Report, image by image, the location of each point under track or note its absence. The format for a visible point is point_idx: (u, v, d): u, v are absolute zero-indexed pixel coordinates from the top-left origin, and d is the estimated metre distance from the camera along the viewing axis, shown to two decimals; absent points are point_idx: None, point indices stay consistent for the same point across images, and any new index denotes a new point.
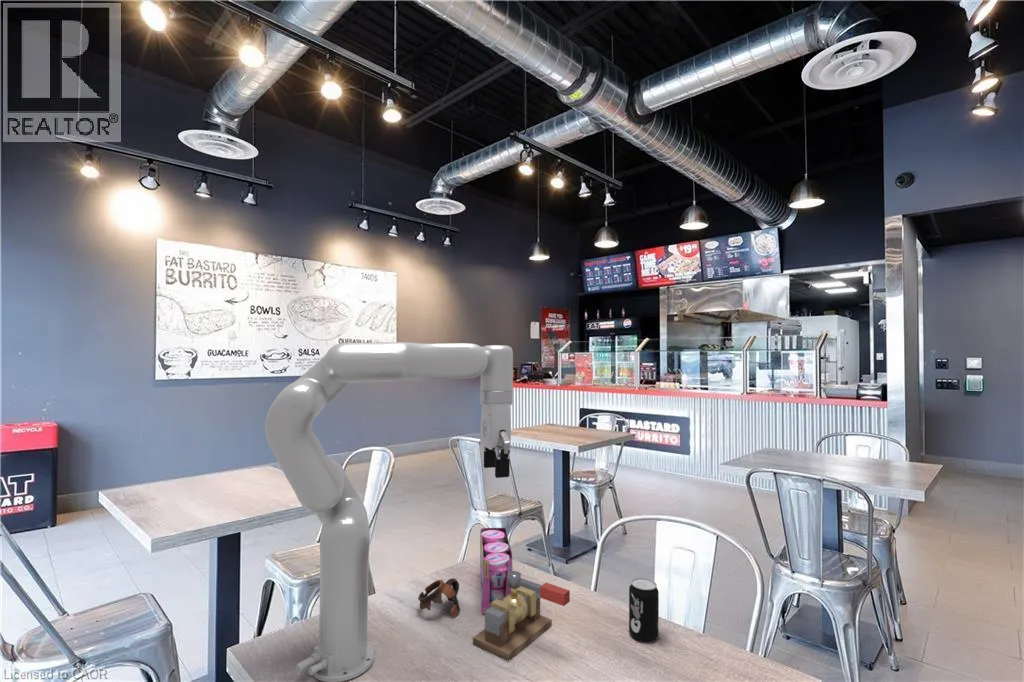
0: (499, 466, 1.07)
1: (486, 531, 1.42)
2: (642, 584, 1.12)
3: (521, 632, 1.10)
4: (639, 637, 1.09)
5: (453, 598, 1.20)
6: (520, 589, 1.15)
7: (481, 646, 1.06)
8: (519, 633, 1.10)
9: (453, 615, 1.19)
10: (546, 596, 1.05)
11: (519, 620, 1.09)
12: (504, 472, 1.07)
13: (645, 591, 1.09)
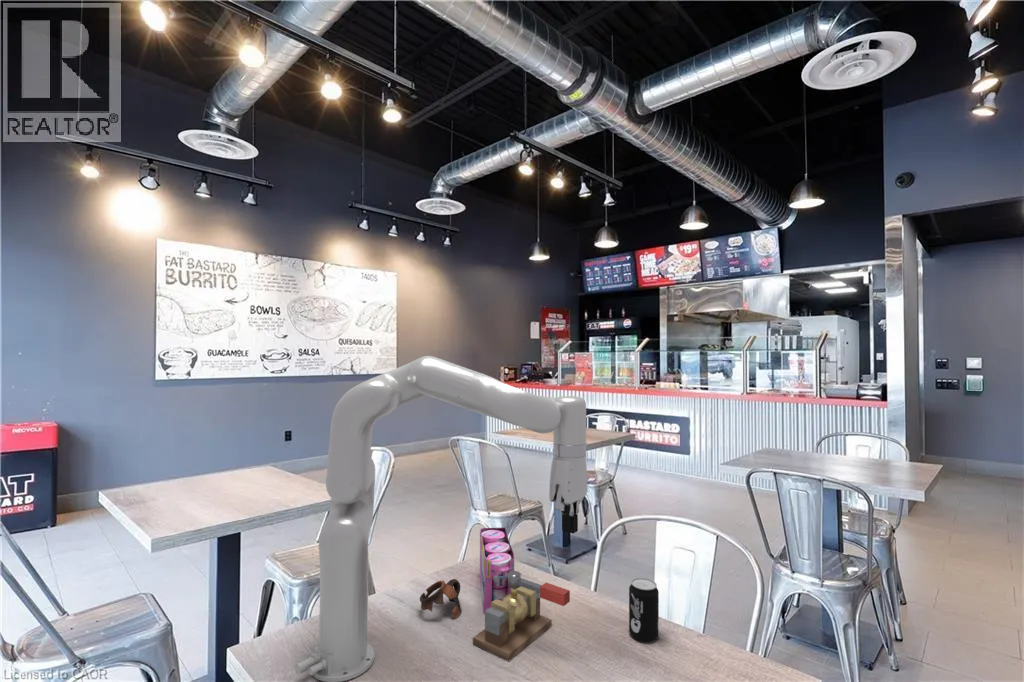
0: None
1: (485, 531, 1.42)
2: (642, 584, 1.12)
3: (521, 632, 1.10)
4: (639, 637, 1.09)
5: (455, 599, 1.20)
6: (520, 589, 1.15)
7: (481, 646, 1.06)
8: (519, 633, 1.10)
9: (455, 616, 1.18)
10: (546, 596, 1.05)
11: (519, 620, 1.09)
12: (567, 528, 1.09)
13: (645, 591, 1.09)
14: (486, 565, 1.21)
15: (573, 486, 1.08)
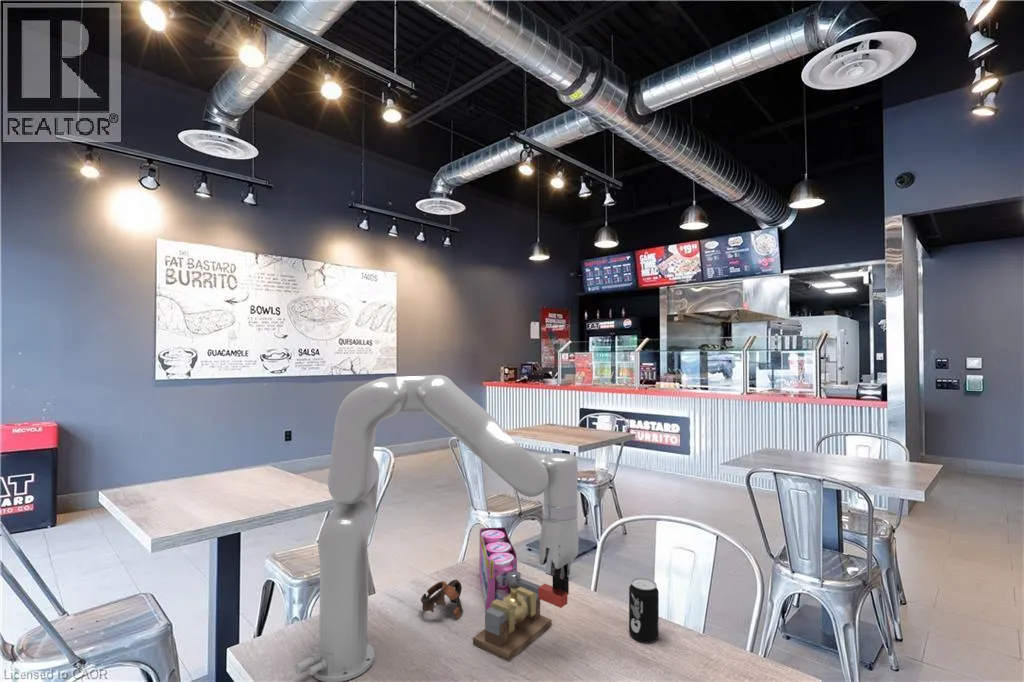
0: None
1: (485, 531, 1.42)
2: (642, 584, 1.12)
3: (521, 632, 1.10)
4: (639, 637, 1.09)
5: (456, 600, 1.19)
6: (520, 589, 1.15)
7: (481, 646, 1.06)
8: (519, 633, 1.10)
9: (456, 617, 1.18)
10: (544, 597, 1.05)
11: (519, 620, 1.09)
12: None
13: (645, 591, 1.09)
14: (489, 565, 1.21)
15: (564, 550, 1.04)
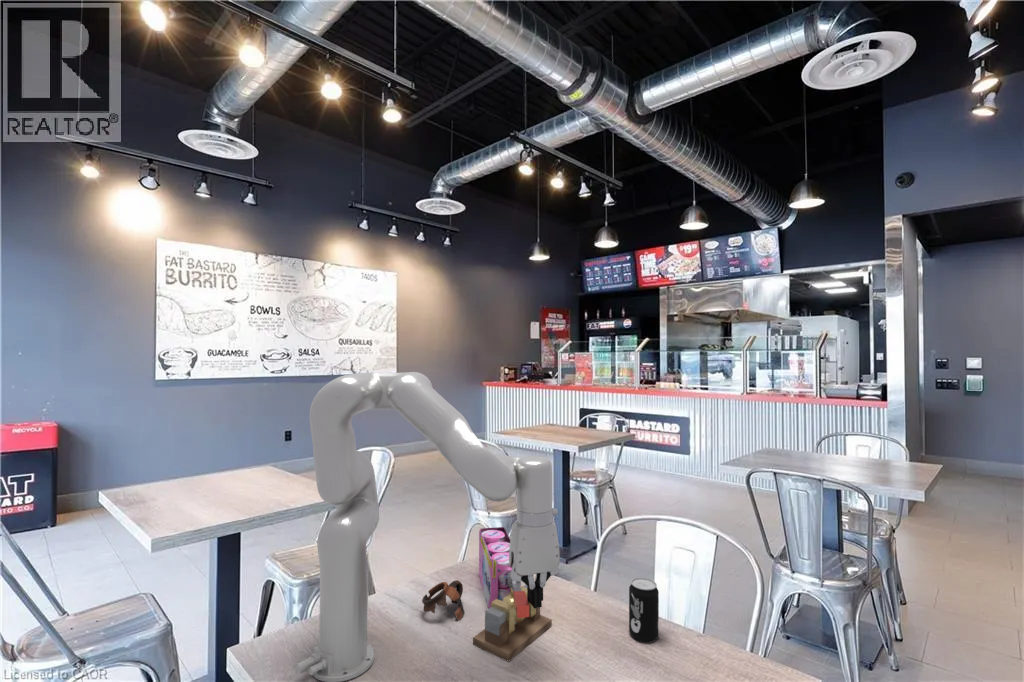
0: None
1: (485, 531, 1.42)
2: (642, 584, 1.12)
3: (521, 632, 1.10)
4: (639, 637, 1.09)
5: (458, 600, 1.19)
6: None
7: (481, 646, 1.06)
8: (519, 633, 1.10)
9: (458, 618, 1.17)
10: (514, 603, 1.02)
11: (519, 620, 1.09)
12: (529, 600, 1.01)
13: (645, 591, 1.09)
14: (492, 565, 1.21)
15: (528, 557, 0.99)
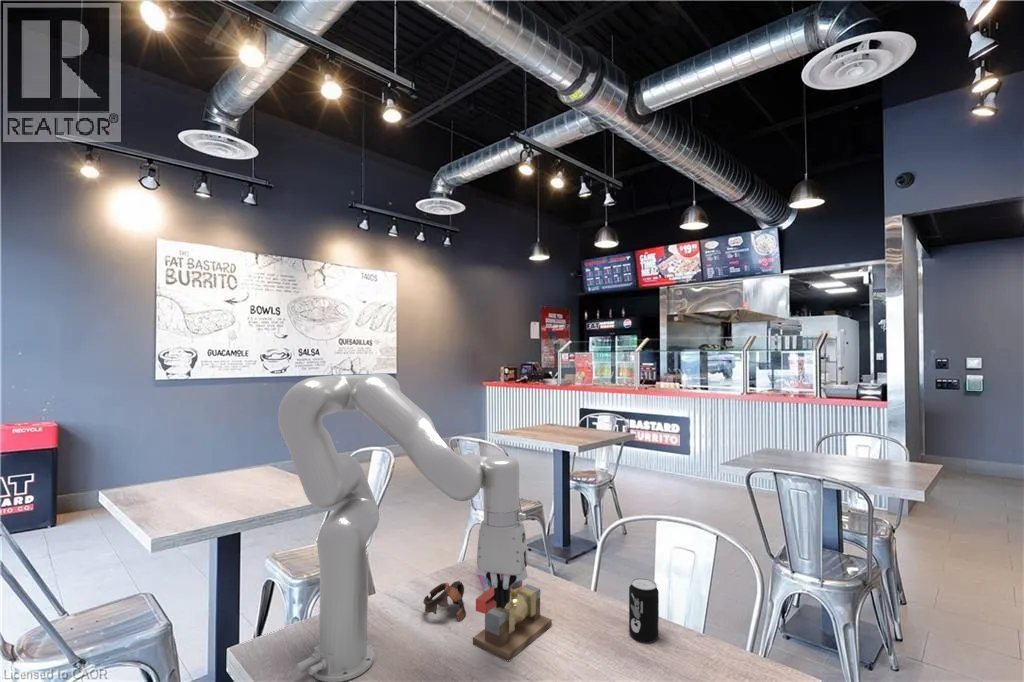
0: None
1: None
2: (642, 584, 1.12)
3: (521, 632, 1.10)
4: (639, 637, 1.09)
5: (459, 601, 1.18)
6: (520, 589, 1.15)
7: (481, 646, 1.06)
8: (519, 633, 1.10)
9: (459, 619, 1.17)
10: None
11: (519, 620, 1.09)
12: None
13: (645, 591, 1.09)
14: None
15: (487, 554, 1.00)
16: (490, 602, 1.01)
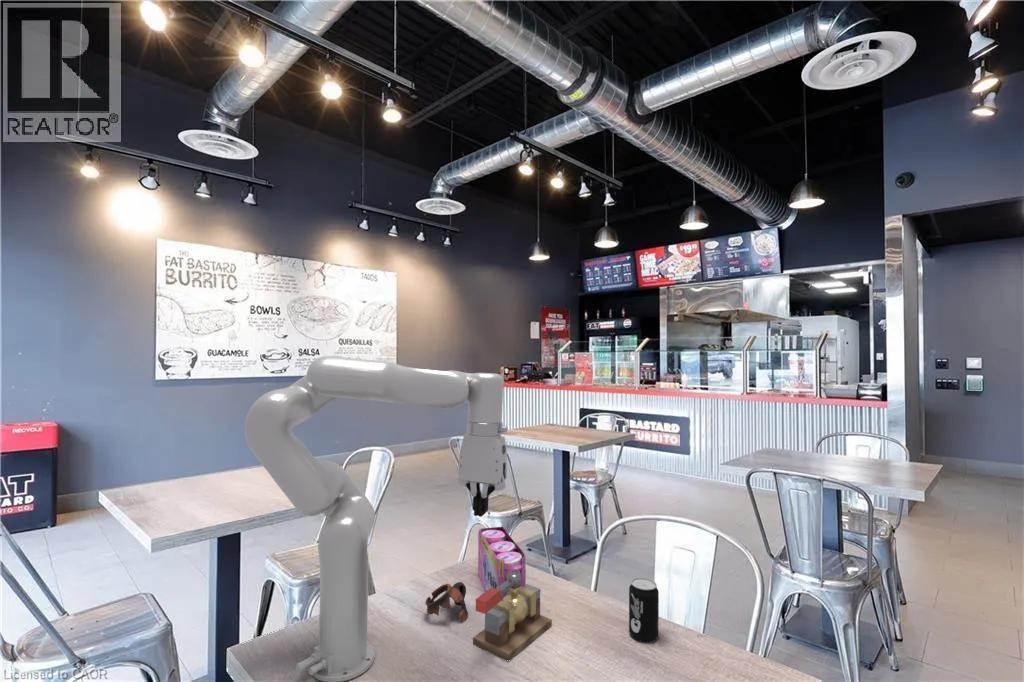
0: None
1: (484, 531, 1.42)
2: (642, 584, 1.12)
3: (521, 632, 1.10)
4: (639, 637, 1.09)
5: (461, 602, 1.18)
6: (520, 589, 1.15)
7: (481, 646, 1.06)
8: (519, 633, 1.10)
9: (462, 620, 1.17)
10: None
11: (519, 620, 1.09)
12: None
13: (645, 591, 1.09)
14: (499, 565, 1.21)
15: (467, 464, 1.04)
16: (490, 602, 1.01)
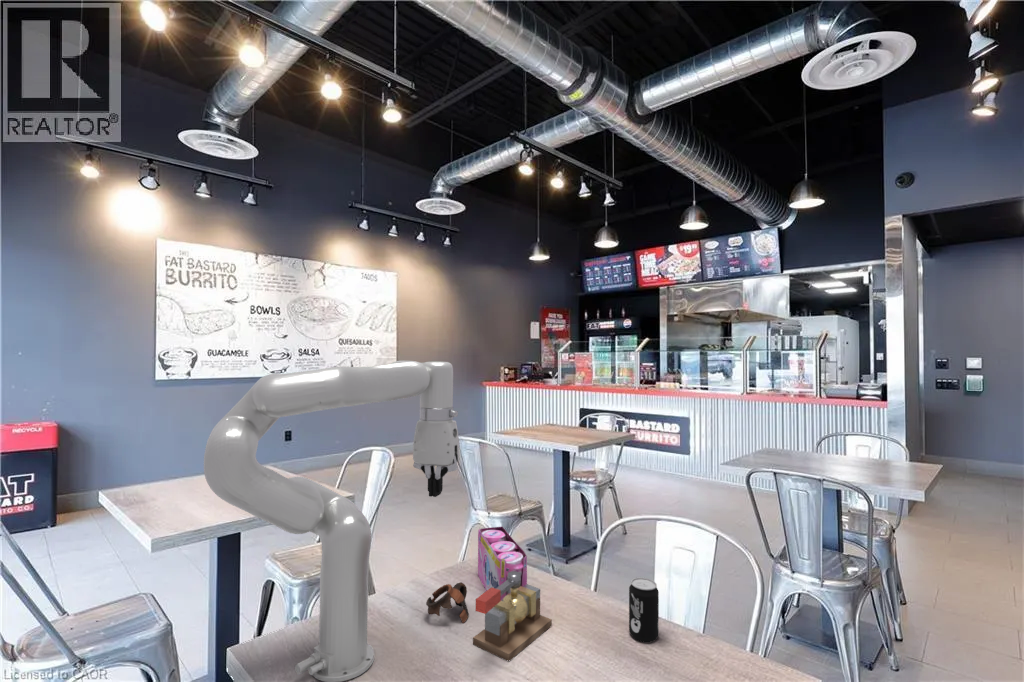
0: None
1: (484, 531, 1.42)
2: (642, 584, 1.12)
3: (521, 632, 1.10)
4: (639, 637, 1.09)
5: (462, 603, 1.18)
6: (520, 589, 1.15)
7: (481, 646, 1.06)
8: (519, 633, 1.10)
9: (462, 620, 1.16)
10: None
11: (519, 620, 1.09)
12: None
13: (645, 591, 1.09)
14: (500, 564, 1.21)
15: (421, 447, 1.10)
16: (490, 602, 1.01)
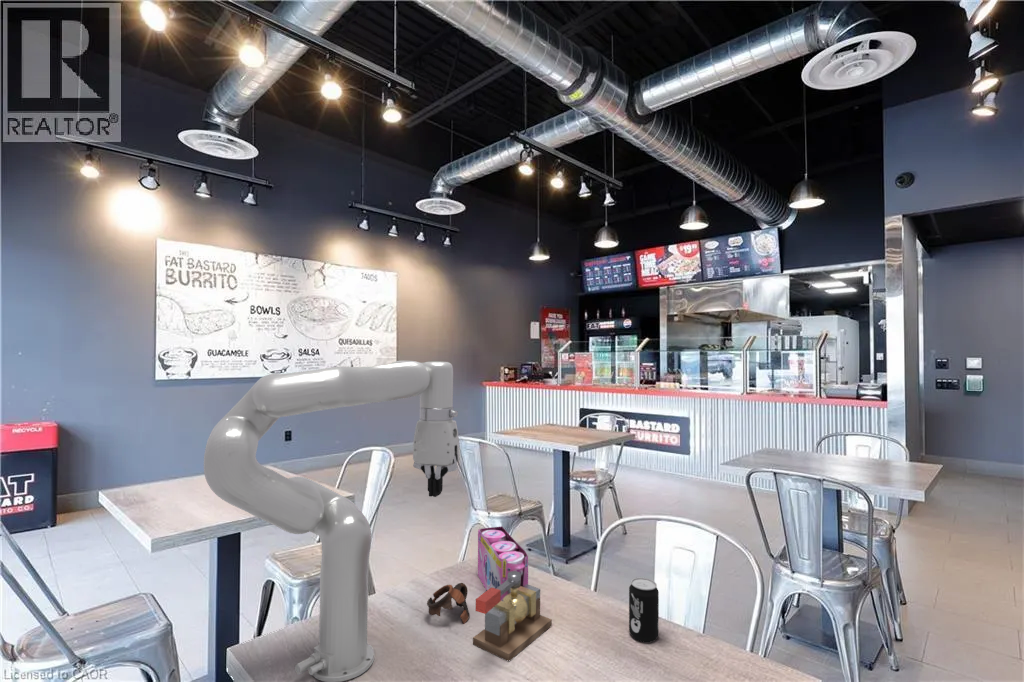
0: None
1: (484, 531, 1.41)
2: (642, 584, 1.12)
3: (521, 632, 1.10)
4: (639, 637, 1.09)
5: (463, 603, 1.17)
6: (520, 589, 1.15)
7: (481, 646, 1.06)
8: (519, 633, 1.10)
9: (463, 621, 1.16)
10: None
11: (519, 620, 1.09)
12: None
13: (645, 591, 1.09)
14: (502, 564, 1.21)
15: (421, 447, 1.10)
16: (490, 602, 1.01)
